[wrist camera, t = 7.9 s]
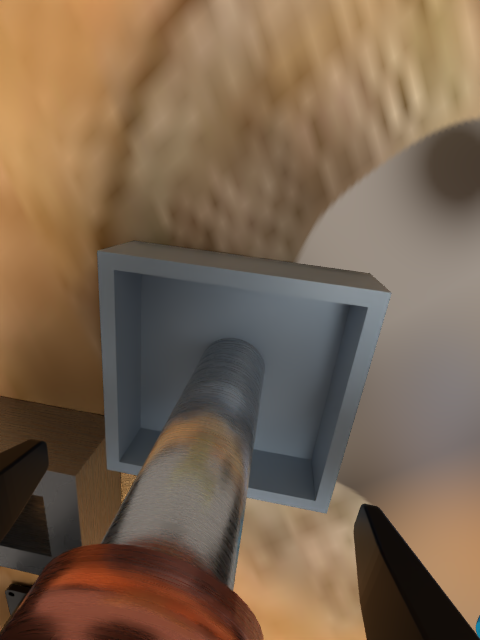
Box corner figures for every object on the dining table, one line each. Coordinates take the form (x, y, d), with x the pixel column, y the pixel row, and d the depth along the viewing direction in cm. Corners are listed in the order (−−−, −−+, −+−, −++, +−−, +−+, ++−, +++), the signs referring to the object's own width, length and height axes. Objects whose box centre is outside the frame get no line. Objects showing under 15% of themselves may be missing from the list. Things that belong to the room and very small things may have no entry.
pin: (272, 413, 16) (240, 812, 6) (184, 397, 16) (6, 742, 6) (287, 331, 14) (280, 687, 4) (189, 316, 15) (-46, 602, 4)
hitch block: (121, 516, 21) (85, 585, 17) (10, 492, 21) (-48, 554, 18) (119, 418, 18) (75, 476, 14) (-9, 395, 19) (-82, 444, 15)
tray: (320, 462, 17) (326, 513, 14) (134, 427, 18) (106, 469, 15) (369, 273, 13) (391, 292, 11) (133, 240, 14) (97, 250, 12)
